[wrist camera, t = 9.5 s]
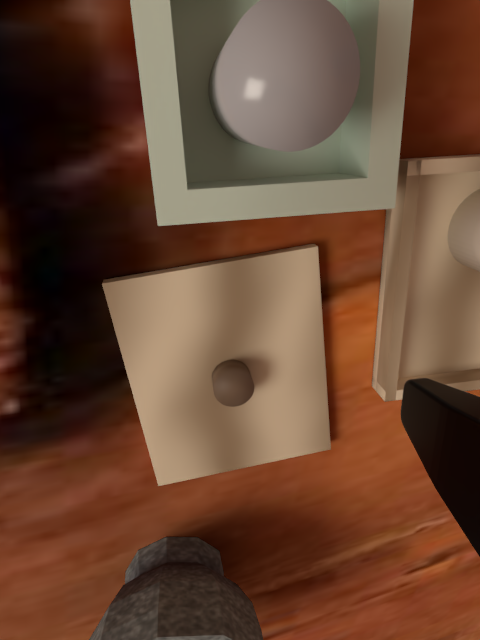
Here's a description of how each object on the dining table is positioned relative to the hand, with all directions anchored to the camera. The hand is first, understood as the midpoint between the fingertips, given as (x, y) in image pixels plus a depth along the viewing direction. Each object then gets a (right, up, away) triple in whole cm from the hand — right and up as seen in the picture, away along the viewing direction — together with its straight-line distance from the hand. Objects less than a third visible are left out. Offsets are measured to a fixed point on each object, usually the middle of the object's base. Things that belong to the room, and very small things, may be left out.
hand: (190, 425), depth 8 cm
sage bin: (+2, +12, +9) cm, 15 cm away
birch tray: (+13, +4, +14) cm, 20 cm away
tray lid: (0, -1, +14) cm, 14 cm away
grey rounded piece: (+2, +11, +9) cm, 14 cm away
